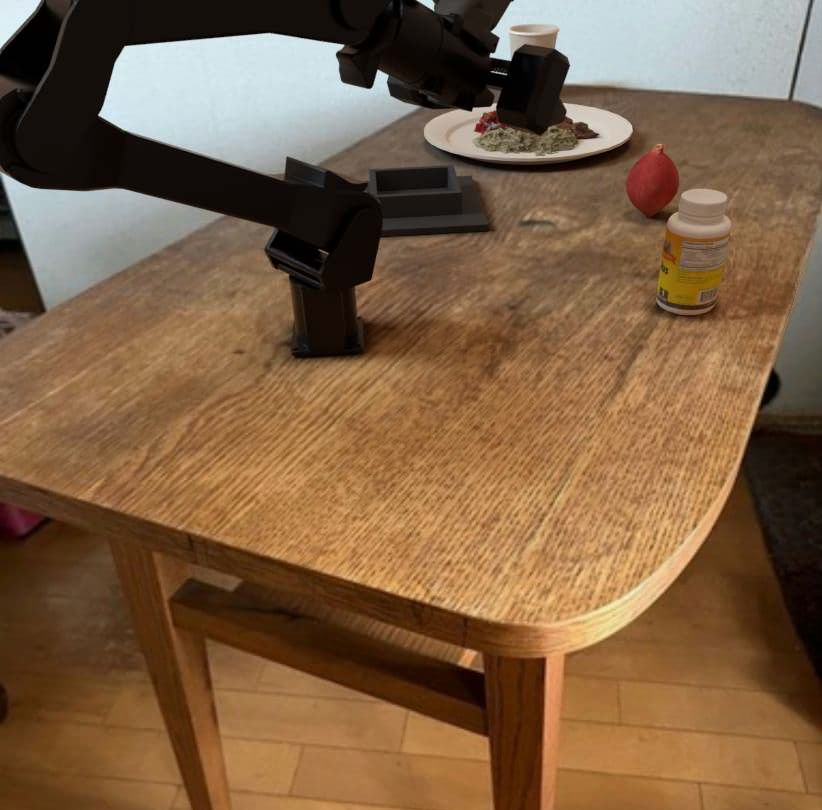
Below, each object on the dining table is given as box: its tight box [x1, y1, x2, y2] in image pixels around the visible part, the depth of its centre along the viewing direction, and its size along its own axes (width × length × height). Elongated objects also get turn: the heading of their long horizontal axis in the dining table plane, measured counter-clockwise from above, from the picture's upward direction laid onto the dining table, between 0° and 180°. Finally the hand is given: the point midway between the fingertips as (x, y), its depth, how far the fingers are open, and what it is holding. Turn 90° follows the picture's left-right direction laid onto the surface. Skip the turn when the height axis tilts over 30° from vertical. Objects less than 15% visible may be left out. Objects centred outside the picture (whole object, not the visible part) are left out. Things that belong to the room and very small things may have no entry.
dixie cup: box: [507, 23, 560, 61], centre depth 143 cm, size 8×8×10 cm
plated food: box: [423, 102, 633, 166], centre depth 124 cm, size 30×30×3 cm
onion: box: [625, 143, 680, 218], centre depth 98 cm, size 6×6×8 cm
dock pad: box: [363, 164, 490, 238], centre depth 104 cm, size 18×16×3 cm
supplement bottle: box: [655, 188, 733, 316], centre depth 78 cm, size 6×6×10 cm
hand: (526, 108), depth 82 cm, fingers open, 9 cm apart
